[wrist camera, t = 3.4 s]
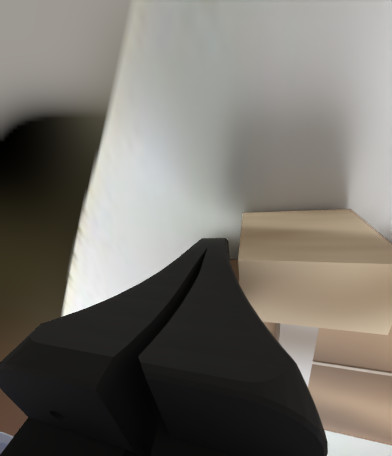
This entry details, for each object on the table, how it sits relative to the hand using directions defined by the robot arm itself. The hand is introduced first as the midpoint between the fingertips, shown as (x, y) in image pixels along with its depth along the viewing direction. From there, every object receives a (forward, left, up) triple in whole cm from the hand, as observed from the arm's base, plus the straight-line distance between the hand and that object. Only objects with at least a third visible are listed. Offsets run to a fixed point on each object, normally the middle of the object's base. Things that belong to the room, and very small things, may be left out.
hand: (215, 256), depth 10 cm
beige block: (-4, -4, -2) cm, 6 cm away
